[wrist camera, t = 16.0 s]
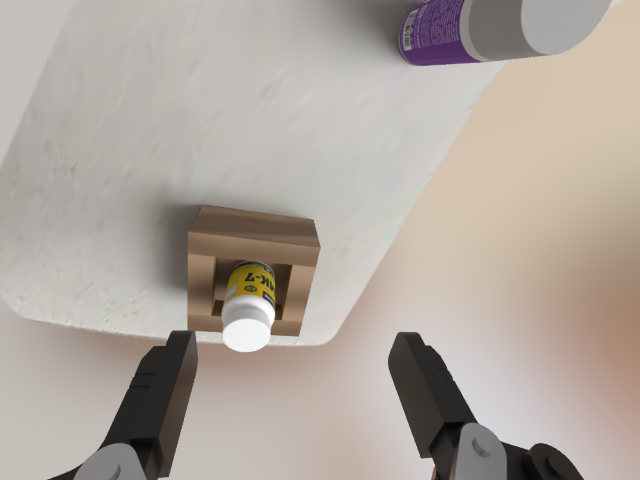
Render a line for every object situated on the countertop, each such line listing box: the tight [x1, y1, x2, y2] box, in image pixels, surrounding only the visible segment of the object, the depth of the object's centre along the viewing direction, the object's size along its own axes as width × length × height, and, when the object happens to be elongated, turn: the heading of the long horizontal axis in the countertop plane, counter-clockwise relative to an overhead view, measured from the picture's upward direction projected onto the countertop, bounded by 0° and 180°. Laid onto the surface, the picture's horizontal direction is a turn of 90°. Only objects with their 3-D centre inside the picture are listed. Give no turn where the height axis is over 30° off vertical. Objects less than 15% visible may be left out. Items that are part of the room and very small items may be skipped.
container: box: [398, 0, 612, 66], centre depth 19 cm, size 5×5×15 cm
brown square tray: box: [188, 205, 320, 336], centre depth 32 cm, size 12×12×6 cm
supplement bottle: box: [222, 260, 275, 352], centre depth 28 cm, size 5×5×8 cm
